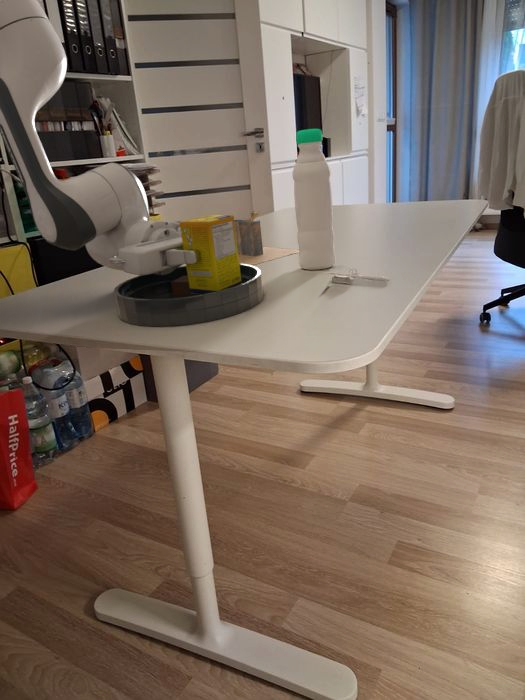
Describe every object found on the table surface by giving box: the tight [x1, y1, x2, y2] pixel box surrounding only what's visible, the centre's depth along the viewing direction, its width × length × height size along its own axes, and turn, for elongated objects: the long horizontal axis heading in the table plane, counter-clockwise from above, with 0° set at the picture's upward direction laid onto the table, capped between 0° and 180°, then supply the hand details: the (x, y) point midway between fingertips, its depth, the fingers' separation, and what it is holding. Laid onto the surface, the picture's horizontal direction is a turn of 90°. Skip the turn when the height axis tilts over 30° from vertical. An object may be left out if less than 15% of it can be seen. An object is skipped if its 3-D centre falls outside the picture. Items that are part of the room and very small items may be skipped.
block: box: [171, 276, 202, 298], centre depth 84 cm, size 4×4×4 cm
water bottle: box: [292, 128, 336, 271], centre depth 98 cm, size 7×7×25 cm
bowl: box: [113, 264, 264, 327], centre depth 84 cm, size 23×23×4 cm
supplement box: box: [178, 214, 242, 294], centre depth 79 cm, size 6×6×11 cm
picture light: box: [323, 267, 391, 285], centre depth 89 cm, size 14×4×2 cm, turn 46°
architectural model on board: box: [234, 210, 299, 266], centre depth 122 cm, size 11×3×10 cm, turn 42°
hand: (215, 251), depth 78 cm, fingers closed on supplement box, 6 cm apart
